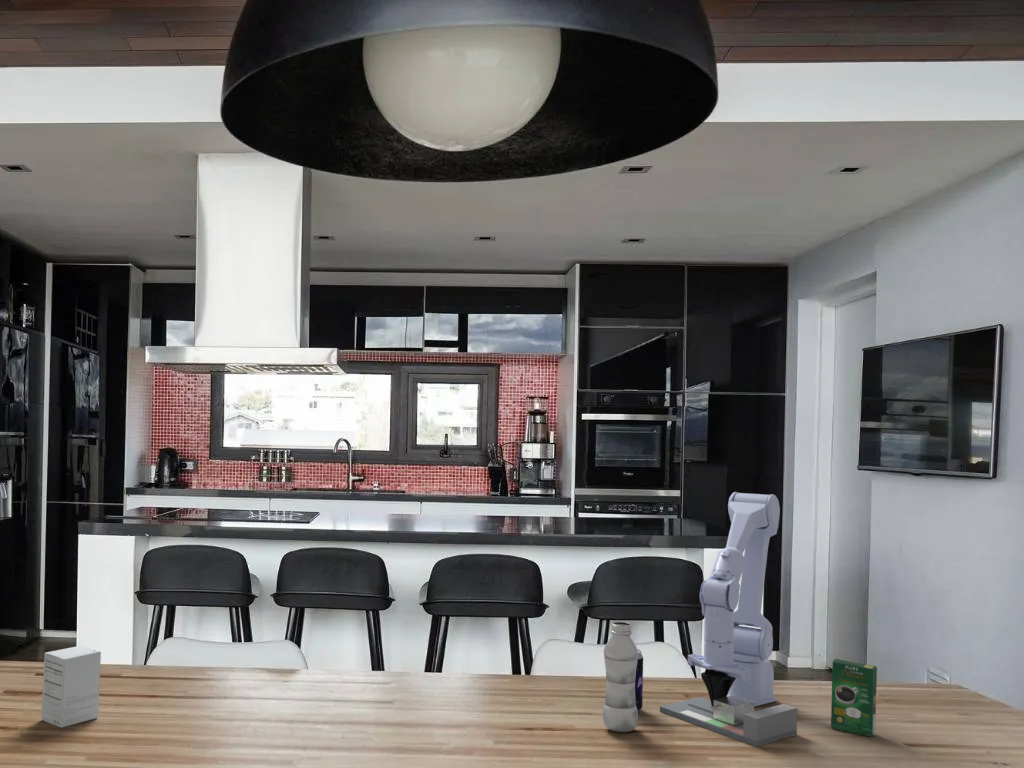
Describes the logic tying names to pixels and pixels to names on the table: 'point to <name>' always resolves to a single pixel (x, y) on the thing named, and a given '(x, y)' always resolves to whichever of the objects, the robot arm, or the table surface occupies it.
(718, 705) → the slider block with tab
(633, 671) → the plastic bottle
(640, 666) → the beverage can
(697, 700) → the gauge board
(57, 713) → the supplement box
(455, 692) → the table surface
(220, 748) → the table surface
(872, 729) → the coffee box
